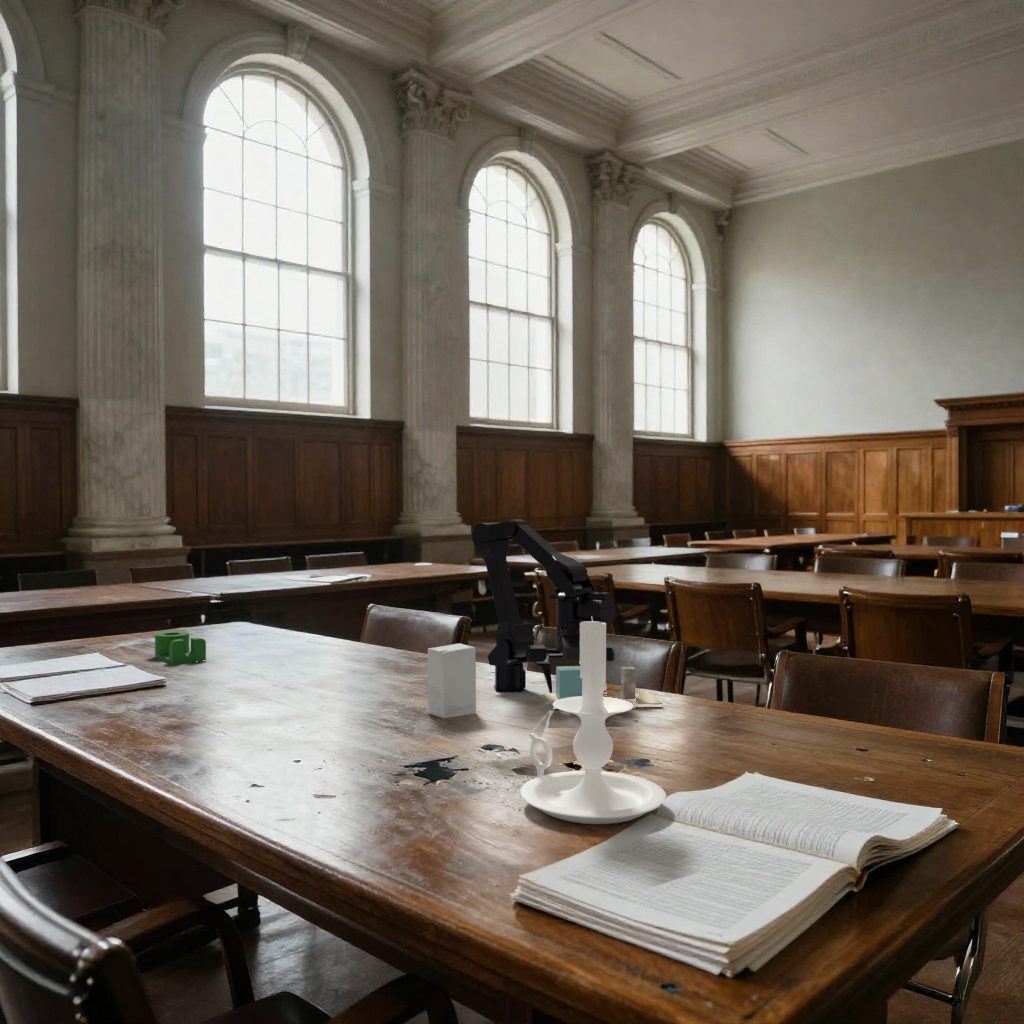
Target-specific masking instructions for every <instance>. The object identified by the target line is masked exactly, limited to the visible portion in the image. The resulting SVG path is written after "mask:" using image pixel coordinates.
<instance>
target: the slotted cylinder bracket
mask: <svg viewBox="0 0 1024 1024" xmlns="http://www.w3.org/2000/svg"><path fill="white" fill-rule="evenodd" d="M206 642H207V641H206V639H204V638H201V637H191V638H190V633H189V632H187V631H166V632H165V631H164V632H158V633H155V634H154V659H156V658H157V660H159V661H162V662H165V663H166V664H167V663H168V664H170V665H182V664H183V663H184V664H190V663H189V662H196V661H203V660H206V661H207V650H206V649H207V643H206ZM196 663H197V662H196Z"/></svg>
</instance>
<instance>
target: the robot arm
mask: <svg viewBox="0 0 1024 1024" xmlns="http://www.w3.org/2000/svg"><path fill="white" fill-rule="evenodd" d="M471 540H472V543H473V545H474V548H475V551H476V553H477V554H478V555H479V556H480V558H481V559H482V560H483V561H484V564H485V566H486V571H487V575H488V580H489V584H490V588H491V589H490V590H491V593H492V598H493V602H494V606H495V610H496V614H497V620H498V625H497V629H496V632H495V633H496V634H495V642H496V643H495V644H496V645H495V647H494V648H493V649H492V650H491V651H490V653H488V655H487V660H488V664H489V666H494V685H493V689H494V691H495V692H496V693H521V692H520V691H524V692H525V689H526V687H527V686H526V683H527V682H526V681H527V680H526V679H527V678H526V674H527V673H526V670H525V668H524V663H525V664H527V663H534V664H535V665H536V666H538V667H539V666H540V668H541V671H542V673H543V676H544V679H545V682H546V685H547V688H548V691H549V692H548V693H553V683H552V682H553V681H552V672H551V662H550V661H549V658H552V659H553V658H562V659H563V660H564V661H567V662H568V661H569V662H570V661H580V623H581V622H584V621H592V619H593V621H598V622H602V623H606V626H609V625H611V624H612V623H614V620H615V618H616V614H617V613H616V612H617V608H616V607H615V602H614V601H613V600H612V598H610V597H611V593H610V592H598V590H597V588H596V587H595V585H594V583H593V581H592V580H591V577H590V576H589V574H588V569H587V567H586V566H585V565H584V564H582V563H581V562H580V561H577V559H574V558H572V557H569V556H567V555H564V554H562V553H561V552H560V551H558V550H557V549H556V548H555V547H554V546H553V545H551V543H549V542H548V541H547V540H546V539H545V538H543V536H541V535H540V534H539V533H538V532H537V531H535V529H534V528H533V527H531V526H530V525H529V523H528V522H527V521H526V520H525V519H509V520H506V521H504V522H480V523H477V524H476V525H475V526H474V528H473V530H472V531H471ZM512 540H513V541H514V542H516V543H517V544H518V545H519V546H520V548H521V549H523V550H524V551H525V552H526V553H527V554H528V555H530V556H531V557H532V558H533V559H534V560H535V561H536V562H537V563H538V564H539V565H541V567H542V568H543V569H544V571H545V573H546V577H547V579H548V580H549V581H550V582H551V584H552V585H553V586H554V587H555V589H554V591H553V592H552V593H551V594H549V595H548V599H549V600H556V648H547V647H545V645H544V644H538V645H537V644H535V641H536V638H535V636H534V633H533V626H532V624H531V623H530V622H526V623H525V622H524V620H522V618H521V615H520V613H519V612H520V611H519V608H518V603H517V598H516V595H515V591H514V587H513V583H512V578H511V573H510V569H509V565H508V561H507V556H508V552H509V548H510V541H512ZM591 616H592V618H591ZM613 661H615V650H614V648H613V647H611V646H610V645H609V644H608V643H606V662H613Z"/></svg>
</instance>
